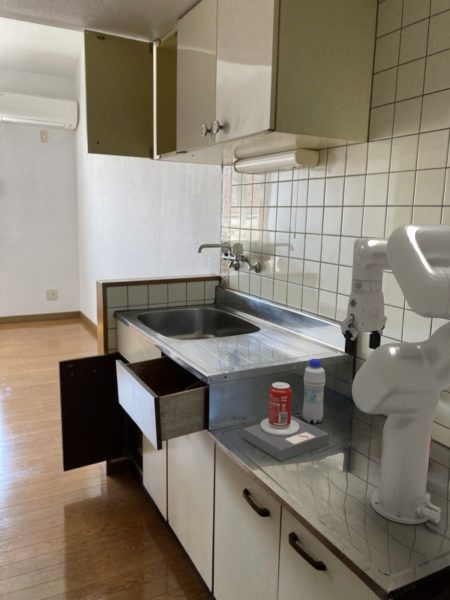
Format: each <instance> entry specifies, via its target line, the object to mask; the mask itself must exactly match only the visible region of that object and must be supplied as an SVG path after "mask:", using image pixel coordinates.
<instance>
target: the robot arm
mask: <svg viewBox="0 0 450 600" xmlns="http://www.w3.org/2000/svg"><path fill="white" fill-rule="evenodd" d="M352 253H353V255H352V257H353V258H352V270H351V271H352V272H351V273H352V275H351V286H350V287H351V288H350V293H349V298H348V302H347V308H346V309H347V310H346V318H345V319H343V321H341V322H340V324H339V327H340V330H341V334H342V335H343V339H344V353H345V354H347V355H350V356H352V357H354V356H356V355H357V345H358V344H357V343H358V342H357V339H356V338H357V337H358V334H359V333H363V334H364V333H369V332H370V333H369V336H368V337H369V342H368V348H369V349H371V350H373V351H372V352H371V353H370V355H369V356H368V358H366V360H365V361H364V362H363V364H362V365H361V366H360V368H359V369H358V371H357V372H356V374H355V376H354V378H353V381H352V386H351V396H352V399H353V402H354V404H355V406H356V407H357V408H358V409H359V410H360V411H361V412H363V413H365V414H369V415H388V416H387V419H386V420H385V422H384V426H383V430H382V441H381V452H380V453H381V454H380V455H381V456H380V467H379V469H380V470H379V482H378V483H379V484H378V488H377V489H375V490H374V491H373V492H372V493H371V495H370V504H371V507H372V509H373V510H374V511H375V512H377V514H378V515H381V516H382V517H383V518H386V519H387V520H390V521H392V522H395V523H398V524H404V525H418V524H419V525H420V524H423V523H425V522H426V523H427V521H429V520H430V521H432V522H434V523H436V524H438V523H439V522H440V521H441V516H442V515H441V513H442V508H441V507H439V506H437V505H434V504H433V503H432V502H431V494H430V493H427V481H428V473H429V472H428V471H429V458H430V451H431V449H430V441H431V436H432V430H433V424H434V419H435V414H436V411H437V408H438V406H439V403H440V399H441V392H442V391H444V390H446V389H447V388H449V387H450V321H448V322H446V323H444V324H442V325H441V326H440V327H438V328H437V329H435V331H434V332H433V333H432V335H431V336H429V337H428V338H427V339H426V340H424V341H416V342H390V343H385V344H381V341H382V336H383V331H384V329H385V328H386V326H385V325H386V323H387V320H388V317H387V316H385V299H384V298H385V297H384V292H383V278H384V271H388V270H389V271H392V274H393V276H394V278H395V280H396V283H397V284H398V286H399V288H400V290H401V293H402V295H403V296H404V299H405V300H406V303H407V305H408V306H409V307H410V309H411V310H412V311H413V312H414V313H415V314H416V315H418V316H420V317H423V318H427V319H450V224H423V223H422V224H417V223H416V224H415V223H412V224H410V223H409V224H402V225H400V226H399V227H397V228H395V229H394V230H393V231H392V232H391V234H390V236H389V237H359V238H356V239H355V241H354V243H353V252H352Z"/></svg>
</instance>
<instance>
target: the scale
mask: <svg viewBox="0 0 450 600" xmlns="http://www.w3.org/2000/svg"><path fill="white" fill-rule="evenodd" d="M242 429H243V432H242V439H243V440H245V441H247V442H248V443H250V444H251V445H253V446H255V447H256V448H258V449H260V450H261V451H262V452H264V453H266V454H268V455H269V454H270V455H269V456H271V457H273V458H274V457H275V458H274V459H276V460H278V461H279V460H280V462H283V461H285V459H286V460H289V459H291V458H294V457H296V456H299V455H302V454H305V453H307V452H311V451H314V450H315V449H318V448H321V447H324V446H327V445H329V442H330V441H329V440H330V433H328V432H326V431H324V430H322V429H320V428H318V427H316V426H313V425H312V424H311V423H308V422H306V421H303V420H301V419H299V418H297V417H295V416H293V415H291V423H290V425H288V427H287V428H284V429H278V428H274V427H272V426H271V424H270V423H269V417H267V418H264V419H263V420H261V422H260V423H258V424H254V425H251V426H247V427H243V428H242ZM288 458H289V459H288ZM282 460H283V461H282Z"/></svg>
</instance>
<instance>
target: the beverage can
mask: <svg viewBox="0 0 450 600" xmlns="http://www.w3.org/2000/svg"><path fill="white" fill-rule="evenodd" d="M268 393H269V395H268V418H269V423H270V424H271V426H272V427H274V428H278V429H284V428H287V427H288V425H290V423H291V416H292V403H293V401H292V400H293V399H292V397H293V396H292V395H293V389H292V388H291V386H290V384H289V383H287V382H281V381H277V382H272V384H271V387H270V388H269V392H268Z"/></svg>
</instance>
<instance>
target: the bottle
mask: <svg viewBox="0 0 450 600" xmlns="http://www.w3.org/2000/svg"><path fill="white" fill-rule="evenodd" d="M321 364H322V362H321V360H320V359H318V358H311V359H310V360H309V365H308V367H305V368H304V374H303V384H304V385H303V386H304V390H303V391H304V393H303V406H302V417H303V420H304V422H307V423H308V424H311V422H312V421H313V422H312V423H313V424H317V423H321V422H322V419H323V417H324V391H325V390H324V389H325V385H326V373H325V371H326V370H325V369H324V368H323V367H321Z"/></svg>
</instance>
